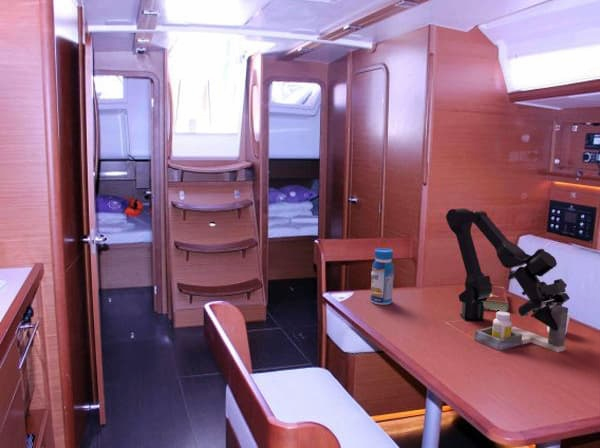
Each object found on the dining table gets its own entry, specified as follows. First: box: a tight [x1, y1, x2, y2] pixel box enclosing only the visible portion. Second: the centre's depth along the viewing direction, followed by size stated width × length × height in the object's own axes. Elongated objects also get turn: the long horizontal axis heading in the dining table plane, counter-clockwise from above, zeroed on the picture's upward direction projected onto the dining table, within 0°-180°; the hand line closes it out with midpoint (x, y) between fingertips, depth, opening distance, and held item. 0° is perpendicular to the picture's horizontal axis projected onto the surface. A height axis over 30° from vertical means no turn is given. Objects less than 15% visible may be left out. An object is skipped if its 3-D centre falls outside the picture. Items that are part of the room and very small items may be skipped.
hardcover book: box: [483, 285, 510, 312], centre depth 209 cm, size 12×21×4 cm, turn 163°
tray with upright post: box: [474, 305, 569, 353], centre depth 165 cm, size 19×18×13 cm
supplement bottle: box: [492, 311, 513, 339], centre depth 167 cm, size 5×5×10 cm
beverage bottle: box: [370, 247, 395, 306], centre depth 204 cm, size 8×8×20 cm
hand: (560, 329), depth 162 cm, fingers closed on tray with upright post, 3 cm apart
